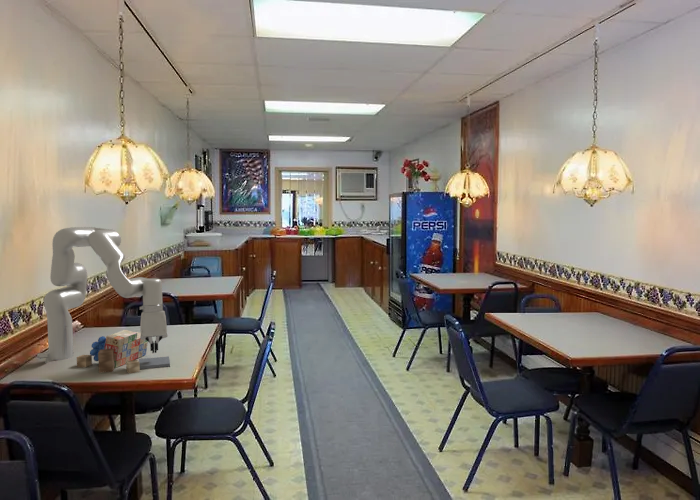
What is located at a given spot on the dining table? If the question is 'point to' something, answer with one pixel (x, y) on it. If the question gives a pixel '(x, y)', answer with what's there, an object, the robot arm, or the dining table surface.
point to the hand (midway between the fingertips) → (154, 352)
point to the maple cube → (132, 366)
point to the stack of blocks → (126, 346)
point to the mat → (154, 362)
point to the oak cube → (84, 361)
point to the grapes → (97, 347)
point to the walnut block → (106, 360)
